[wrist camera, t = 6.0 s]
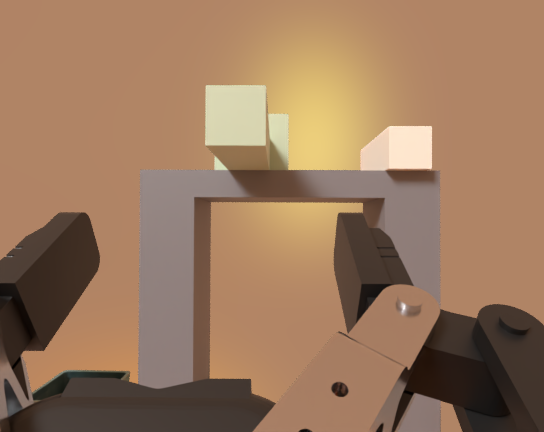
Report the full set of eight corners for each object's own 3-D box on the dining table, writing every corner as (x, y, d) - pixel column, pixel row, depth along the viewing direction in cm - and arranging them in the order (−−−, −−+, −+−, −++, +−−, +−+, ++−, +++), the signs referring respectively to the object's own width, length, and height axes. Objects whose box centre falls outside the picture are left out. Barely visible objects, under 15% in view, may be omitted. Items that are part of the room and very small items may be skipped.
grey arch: (136, 610, 27) (140, 169, 28) (164, 531, 34) (167, 180, 35) (445, 615, 27) (444, 170, 28) (410, 534, 34) (410, 180, 35)
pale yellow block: (175, 145, 19) (176, 45, 19) (221, 180, 35) (221, 126, 35) (295, 145, 19) (296, 45, 19) (286, 180, 35) (286, 126, 35)
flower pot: (130, 439, 49) (131, 369, 49) (99, 487, 40) (100, 401, 40) (63, 439, 49) (64, 369, 49) (17, 486, 40) (18, 401, 40)
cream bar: (389, 168, 27) (389, 126, 27) (360, 181, 36) (360, 150, 36) (431, 168, 27) (431, 126, 27) (392, 182, 36) (392, 150, 36)
